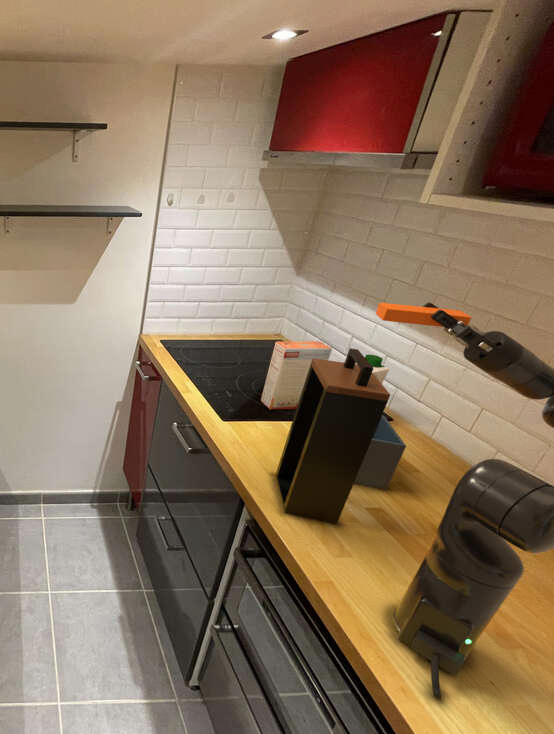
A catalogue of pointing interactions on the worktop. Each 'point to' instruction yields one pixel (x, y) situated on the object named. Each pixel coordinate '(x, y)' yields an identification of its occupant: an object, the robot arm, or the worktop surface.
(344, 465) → the box
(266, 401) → the cracker box
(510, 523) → the robot arm
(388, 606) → the worktop surface
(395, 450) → the blue open bin
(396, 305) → the bar
